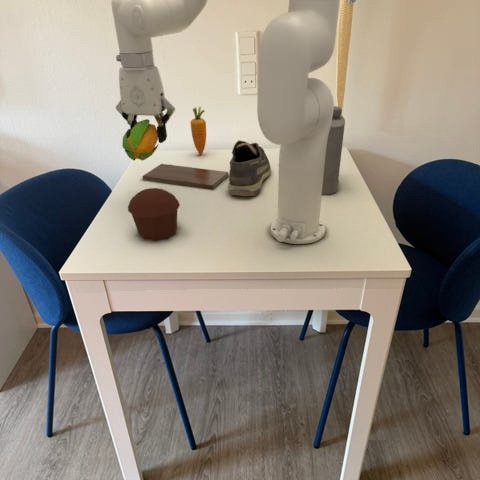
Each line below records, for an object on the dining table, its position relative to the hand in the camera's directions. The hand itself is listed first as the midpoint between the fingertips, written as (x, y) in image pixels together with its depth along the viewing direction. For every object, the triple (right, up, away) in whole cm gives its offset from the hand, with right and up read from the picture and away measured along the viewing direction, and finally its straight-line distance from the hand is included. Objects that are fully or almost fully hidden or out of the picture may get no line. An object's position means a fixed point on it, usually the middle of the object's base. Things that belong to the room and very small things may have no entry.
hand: (149, 140), depth 113 cm
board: (+7, -4, +18) cm, 19 cm away
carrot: (+10, +9, +34) cm, 36 cm away
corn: (-1, -5, -3) cm, 5 cm away
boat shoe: (+27, -5, +15) cm, 31 cm away
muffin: (+4, -26, -9) cm, 27 cm away
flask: (+48, -8, +11) cm, 50 cm away
